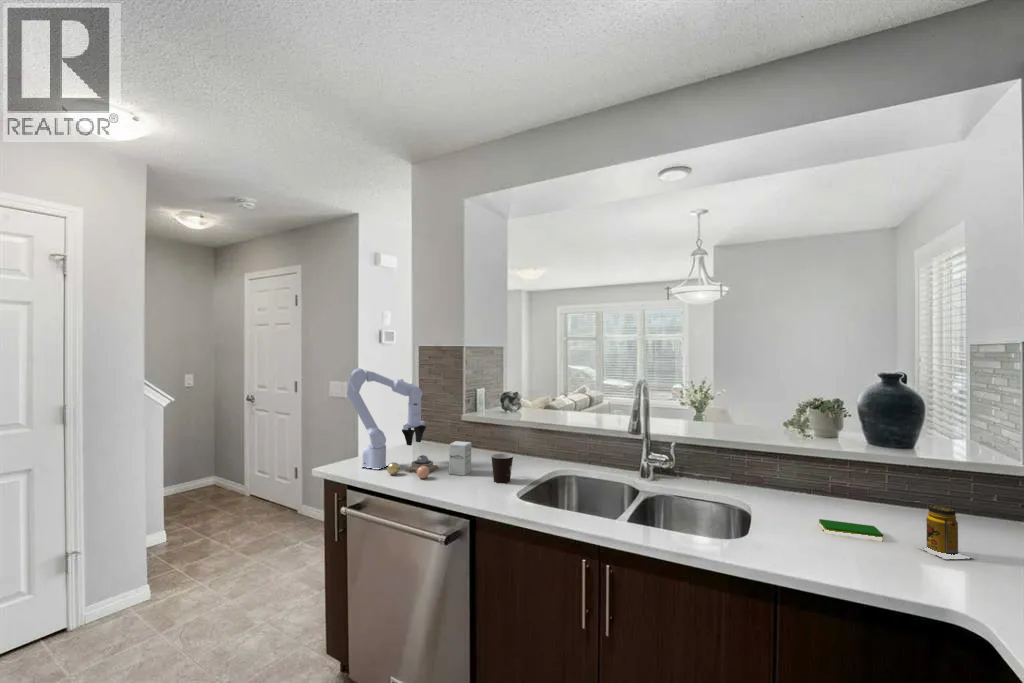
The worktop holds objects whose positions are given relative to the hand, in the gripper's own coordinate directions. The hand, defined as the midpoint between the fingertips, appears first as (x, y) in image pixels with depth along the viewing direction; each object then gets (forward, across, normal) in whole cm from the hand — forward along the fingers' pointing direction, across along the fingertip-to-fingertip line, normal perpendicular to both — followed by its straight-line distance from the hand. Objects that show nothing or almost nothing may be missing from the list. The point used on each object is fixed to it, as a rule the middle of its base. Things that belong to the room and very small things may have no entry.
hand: (413, 443), depth 203 cm
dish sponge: (+10, -18, -158) cm, 159 cm away
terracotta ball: (+7, -17, -15) cm, 24 cm away
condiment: (+10, -25, -177) cm, 179 cm away
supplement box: (+10, -4, -25) cm, 27 cm away
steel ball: (+6, -6, -8) cm, 11 cm away
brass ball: (+7, -17, -1) cm, 18 cm away
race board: (+9, -6, -8) cm, 14 cm away
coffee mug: (+10, -7, -46) cm, 48 cm away
